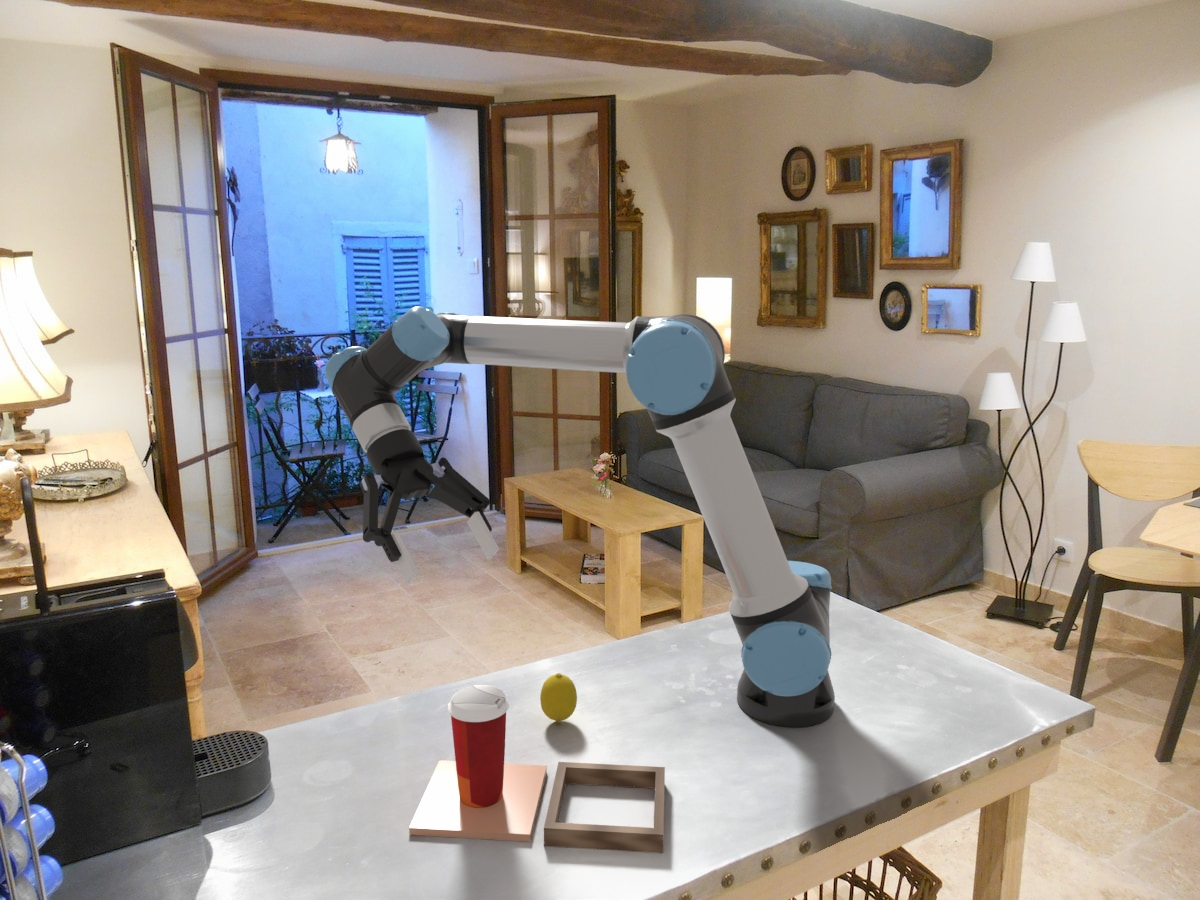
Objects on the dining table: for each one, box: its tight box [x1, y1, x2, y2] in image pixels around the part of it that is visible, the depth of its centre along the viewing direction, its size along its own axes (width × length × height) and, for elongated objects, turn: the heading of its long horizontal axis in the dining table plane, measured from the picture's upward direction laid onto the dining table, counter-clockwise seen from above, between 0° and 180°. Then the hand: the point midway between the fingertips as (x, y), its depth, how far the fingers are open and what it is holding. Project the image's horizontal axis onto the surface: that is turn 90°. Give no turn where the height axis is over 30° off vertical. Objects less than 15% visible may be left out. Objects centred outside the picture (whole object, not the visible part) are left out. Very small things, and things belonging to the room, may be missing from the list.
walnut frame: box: [543, 761, 666, 854], centre depth 118 cm, size 14×14×2 cm
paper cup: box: [447, 684, 510, 808], centre depth 119 cm, size 8×8×14 cm
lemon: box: [539, 672, 578, 723], centre depth 139 cm, size 6×6×8 cm
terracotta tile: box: [408, 759, 548, 842], centre depth 120 cm, size 15×15×1 cm
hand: (454, 566), depth 127 cm, fingers open, 13 cm apart
